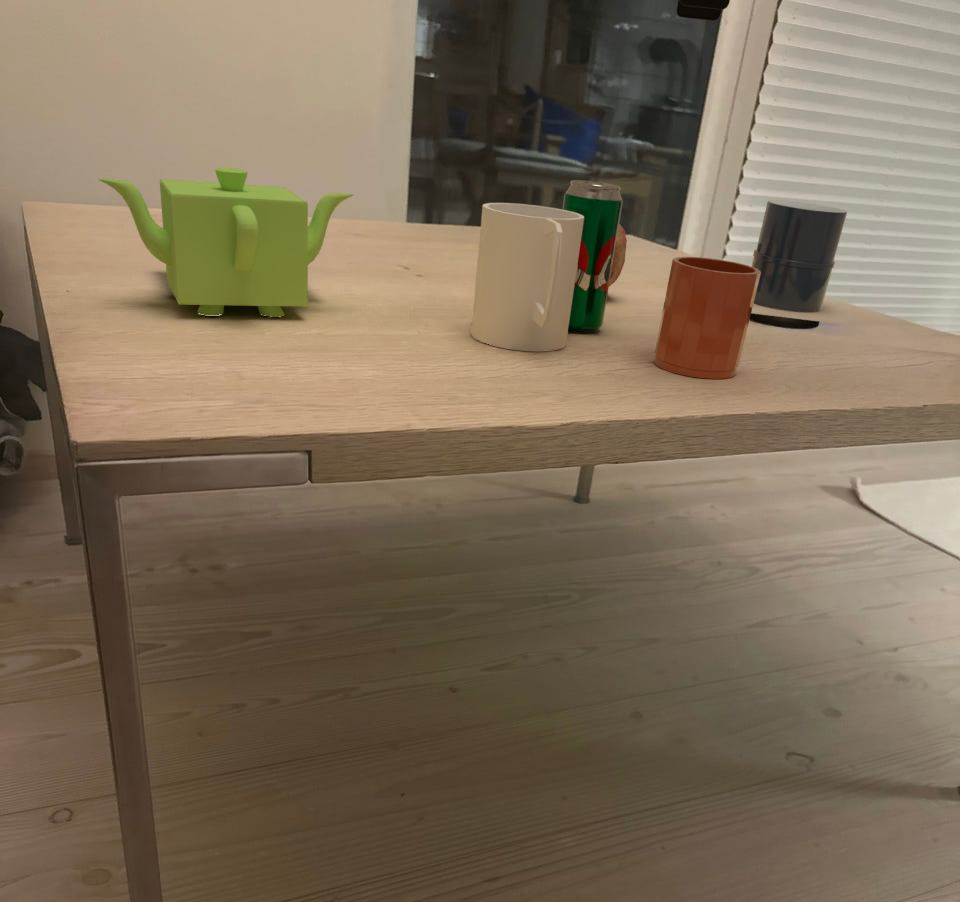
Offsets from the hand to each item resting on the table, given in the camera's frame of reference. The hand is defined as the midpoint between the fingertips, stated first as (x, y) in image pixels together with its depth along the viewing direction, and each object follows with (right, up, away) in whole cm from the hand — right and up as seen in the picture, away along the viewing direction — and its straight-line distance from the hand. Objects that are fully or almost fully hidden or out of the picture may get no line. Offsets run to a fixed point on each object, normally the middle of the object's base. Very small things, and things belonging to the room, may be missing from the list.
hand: (699, 13), depth 64 cm
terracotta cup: (+3, -21, +13) cm, 25 cm away
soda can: (-7, -15, +21) cm, 27 cm away
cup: (-12, -19, +14) cm, 26 cm away
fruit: (-4, -7, +35) cm, 36 cm away
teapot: (-36, -15, +15) cm, 42 cm away
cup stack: (+17, -9, +34) cm, 39 cm away
